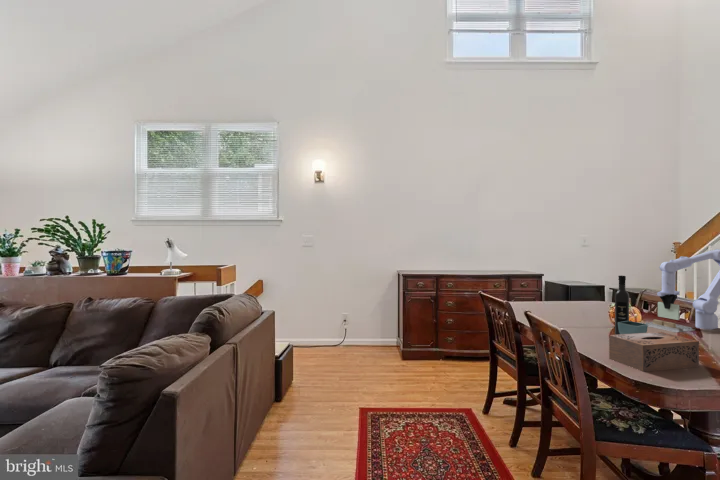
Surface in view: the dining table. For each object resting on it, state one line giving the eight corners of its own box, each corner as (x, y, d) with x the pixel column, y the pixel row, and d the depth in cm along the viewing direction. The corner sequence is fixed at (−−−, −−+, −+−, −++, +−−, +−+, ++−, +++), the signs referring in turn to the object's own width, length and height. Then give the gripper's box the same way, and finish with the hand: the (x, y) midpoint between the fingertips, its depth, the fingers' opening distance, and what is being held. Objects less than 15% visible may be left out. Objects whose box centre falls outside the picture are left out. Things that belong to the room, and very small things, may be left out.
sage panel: (659, 316, 205) (659, 301, 205) (679, 319, 196) (679, 304, 196) (657, 316, 205) (657, 302, 205) (677, 320, 196) (677, 305, 196)
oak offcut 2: (666, 328, 195) (666, 321, 195) (675, 330, 191) (675, 323, 191) (663, 328, 195) (663, 321, 194) (673, 330, 190) (673, 323, 190)
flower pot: (616, 340, 175) (616, 322, 175) (627, 338, 179) (627, 320, 179) (637, 345, 167) (637, 326, 167) (648, 343, 171) (648, 324, 171)
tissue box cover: (661, 355, 154) (661, 331, 154) (698, 367, 140) (698, 341, 140) (609, 359, 150) (609, 335, 149) (642, 372, 135) (642, 345, 135)
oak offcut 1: (655, 325, 200) (655, 319, 200) (664, 327, 196) (664, 321, 196) (652, 326, 200) (652, 319, 200) (661, 328, 195) (661, 321, 195)
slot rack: (662, 325, 206) (662, 320, 206) (695, 332, 191) (695, 327, 191) (643, 327, 202) (643, 322, 202) (675, 334, 186) (675, 329, 186)
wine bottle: (628, 336, 182) (628, 276, 182) (614, 335, 186) (614, 275, 185) (629, 334, 187) (629, 275, 186) (615, 332, 190) (615, 275, 190)
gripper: (669, 282, 206) (669, 306, 207) (651, 283, 202) (651, 308, 202) (683, 283, 200) (683, 308, 200) (665, 285, 195) (665, 310, 195)
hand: (668, 308), depth 201 cm, fingers closed on sage panel, 1 cm apart
